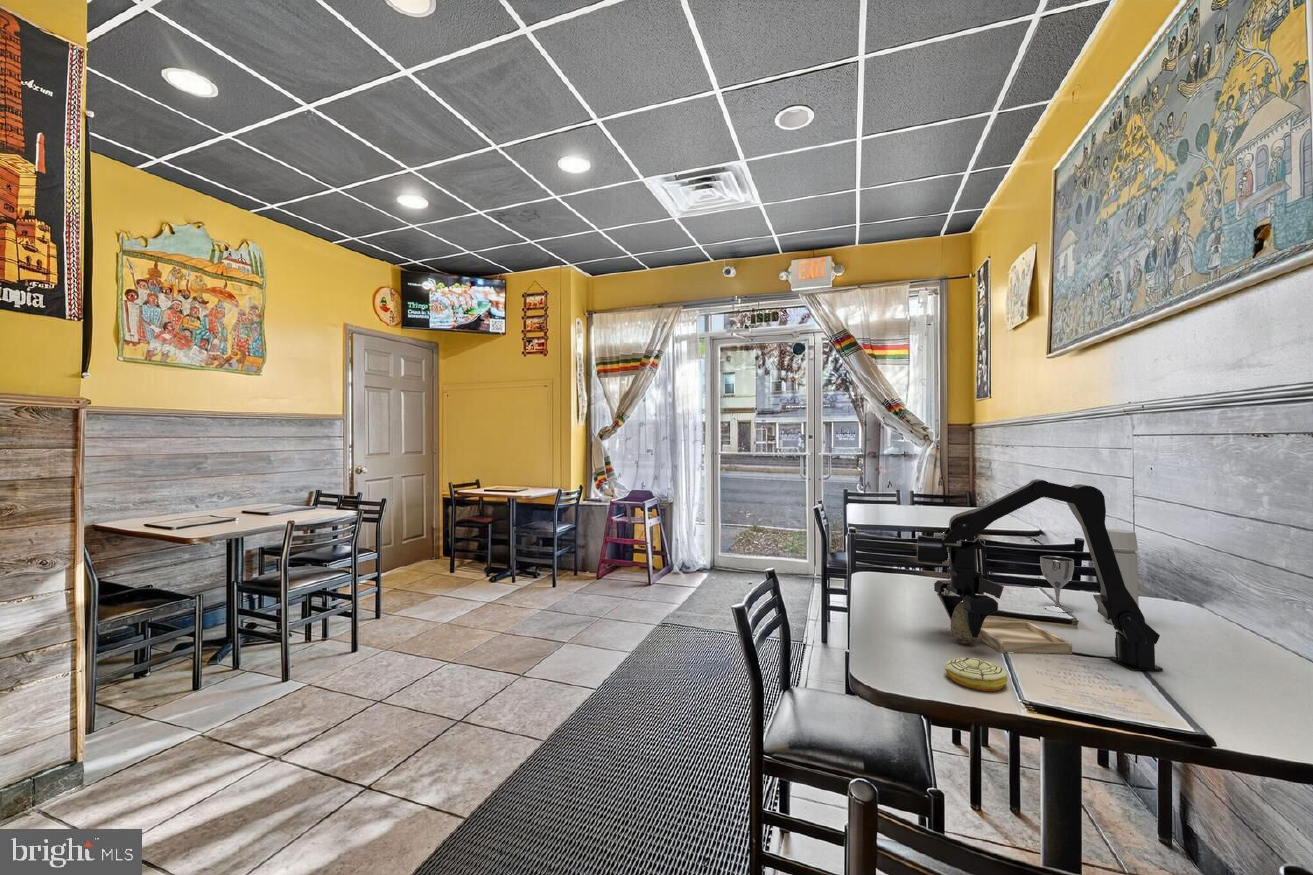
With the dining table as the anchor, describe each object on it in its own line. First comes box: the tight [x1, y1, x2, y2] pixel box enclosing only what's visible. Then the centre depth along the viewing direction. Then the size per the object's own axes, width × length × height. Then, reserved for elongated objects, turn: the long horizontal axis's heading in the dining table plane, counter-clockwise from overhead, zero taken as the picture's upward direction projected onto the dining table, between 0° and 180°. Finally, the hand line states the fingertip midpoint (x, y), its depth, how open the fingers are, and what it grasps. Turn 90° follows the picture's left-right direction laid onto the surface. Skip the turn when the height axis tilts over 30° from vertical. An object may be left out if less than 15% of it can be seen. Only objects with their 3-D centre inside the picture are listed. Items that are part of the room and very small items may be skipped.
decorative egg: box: [950, 601, 978, 645], centre depth 130 cm, size 6×6×10 cm
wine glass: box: [1039, 555, 1075, 614], centre depth 158 cm, size 8×8×15 cm
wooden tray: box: [977, 620, 1073, 655], centre depth 131 cm, size 16×16×2 cm
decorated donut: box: [944, 657, 1009, 692], centre depth 109 cm, size 10×11×4 cm
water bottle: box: [1103, 528, 1140, 625], centre depth 146 cm, size 9×8×25 cm
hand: (964, 630), depth 130 cm, fingers open, 9 cm apart
